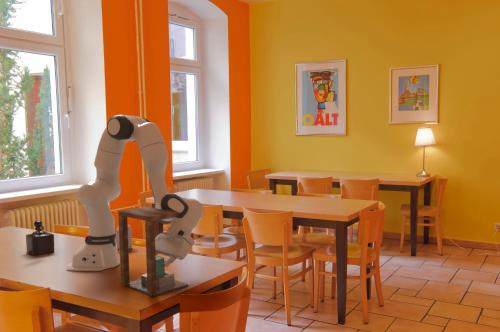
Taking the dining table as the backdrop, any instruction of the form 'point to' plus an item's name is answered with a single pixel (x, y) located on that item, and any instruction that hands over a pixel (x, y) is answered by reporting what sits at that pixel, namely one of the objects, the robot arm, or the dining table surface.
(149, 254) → the open wooden frame
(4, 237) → the dining table surface
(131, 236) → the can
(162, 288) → the socket
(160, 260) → the post
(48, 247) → the black block with knob
